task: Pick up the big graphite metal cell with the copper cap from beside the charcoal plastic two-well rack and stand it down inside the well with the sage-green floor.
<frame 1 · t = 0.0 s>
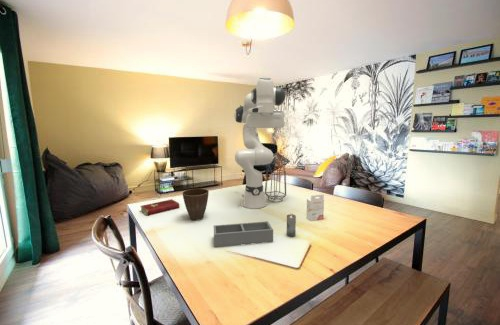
hand: (265, 136, 124), 48 cm above the table, tool pointing down, fingers open, 8 cm apart
plant pot: (196, 218, 139), on the table
hardcover book: (160, 210, 154), on the table
metal cell: (290, 235, 115), on the table
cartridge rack: (242, 239, 111), on the table
ink cartridge box: (314, 218, 136), on the table
geometric lantern: (276, 200, 172), on the table
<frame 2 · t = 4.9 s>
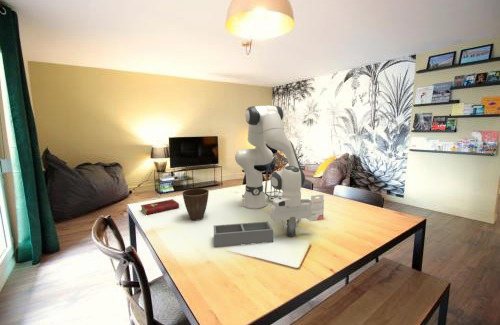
hand: (291, 227, 115), 4 cm above the table, tool pointing down, fingers closed on metal cell, 4 cm apart
metal cell: (290, 235, 115), on the table, touching gripper
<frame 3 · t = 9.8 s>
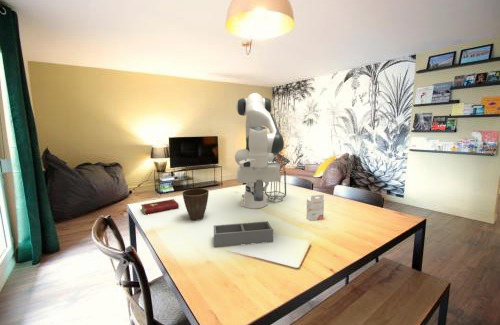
hand: (258, 191, 109), 23 cm above the table, tool pointing down, fingers closed on metal cell, 4 cm apart
metal cell: (258, 199, 110), point 19 cm above the table, touching gripper
when the fingers open (7 cm above the table, at t = 14.7 s): metal cell drops 2 cm, resting on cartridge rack.
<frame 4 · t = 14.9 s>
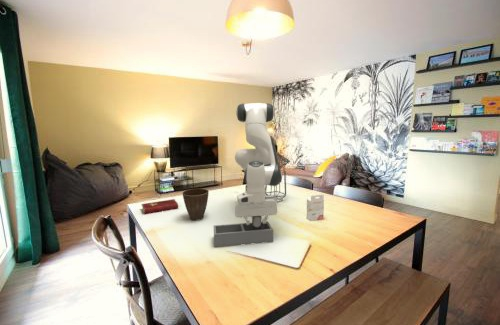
hand: (256, 224, 111), 7 cm above the table, tool pointing down, fingers open, 6 cm apart
metal cell: (256, 235, 112), point 1 cm above the table, touching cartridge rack
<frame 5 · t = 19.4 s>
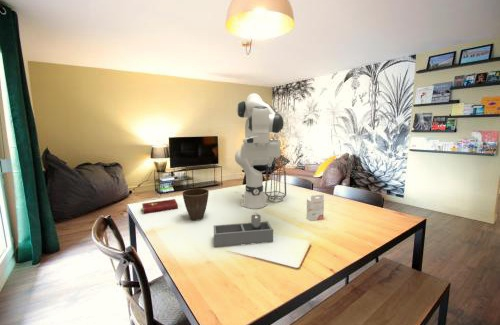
hand: (260, 166, 118), 33 cm above the table, tool pointing down, fingers open, 8 cm apart
at the end: metal cell inside the target area on the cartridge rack (0.0 cm from its centre), point 1.2 cm above the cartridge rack's base; metal cell tilted 0°; the gripper is holding nothing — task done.
